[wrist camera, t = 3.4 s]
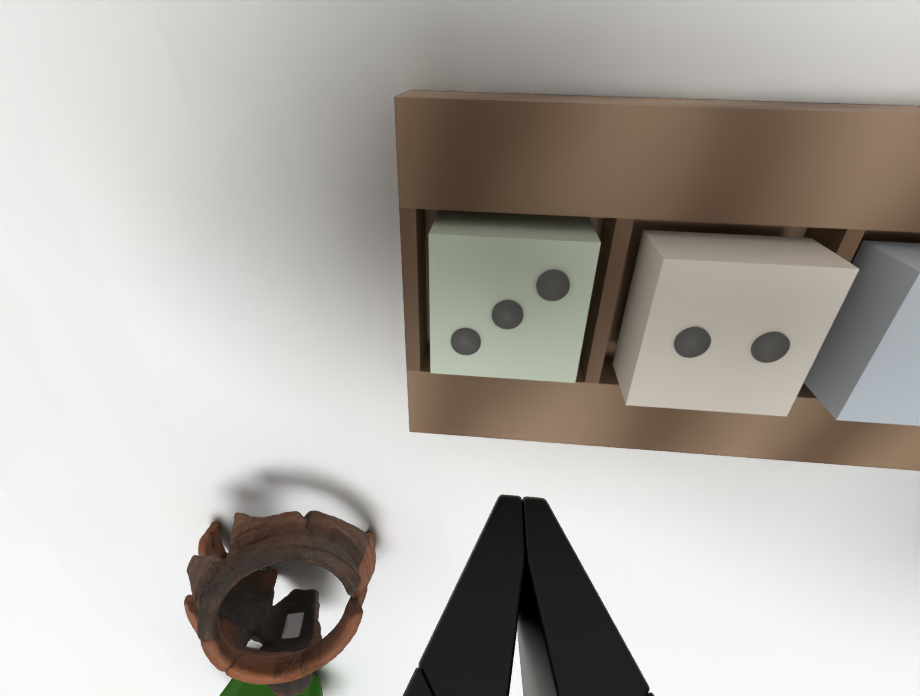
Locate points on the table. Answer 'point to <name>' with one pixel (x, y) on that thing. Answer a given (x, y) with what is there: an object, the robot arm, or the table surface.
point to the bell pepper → (266, 689)
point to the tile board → (620, 230)
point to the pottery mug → (252, 591)
